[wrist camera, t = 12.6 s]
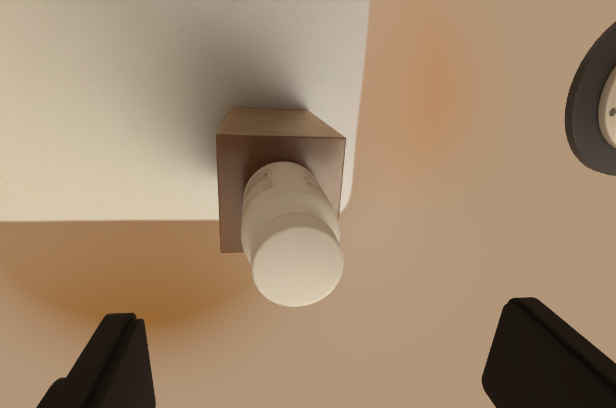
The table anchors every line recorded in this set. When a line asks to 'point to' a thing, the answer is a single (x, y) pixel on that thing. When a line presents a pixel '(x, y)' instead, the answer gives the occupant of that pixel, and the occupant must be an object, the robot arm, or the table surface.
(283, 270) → the pill bottle
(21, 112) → the table surface
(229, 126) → the display block
